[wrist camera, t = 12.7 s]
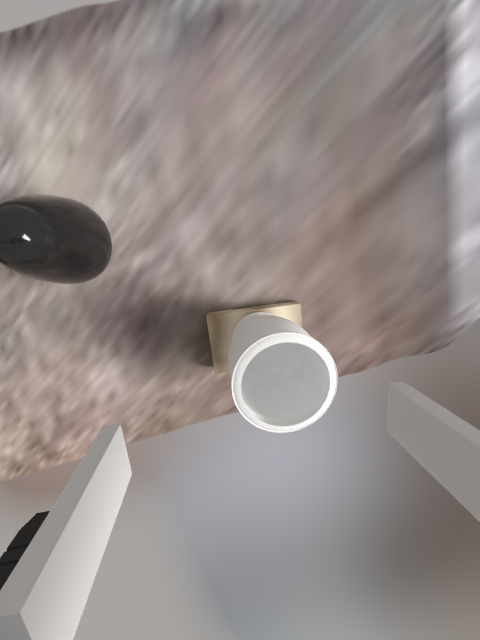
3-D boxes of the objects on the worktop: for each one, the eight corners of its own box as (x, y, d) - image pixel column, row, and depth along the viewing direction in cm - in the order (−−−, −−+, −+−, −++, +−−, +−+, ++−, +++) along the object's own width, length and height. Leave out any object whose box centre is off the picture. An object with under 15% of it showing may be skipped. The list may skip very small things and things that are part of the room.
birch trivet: (214, 367, 42) (214, 373, 40) (206, 312, 40) (206, 316, 38) (299, 354, 43) (304, 360, 41) (295, 300, 41) (300, 303, 39)
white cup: (211, 329, 38) (209, 373, 24) (270, 290, 38) (305, 310, 23) (250, 383, 41) (269, 452, 26) (306, 347, 40) (357, 397, 26)
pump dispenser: (37, 202, 35) (-93, 161, 20) (118, 206, 36) (52, 170, 21) (47, 280, 37) (-63, 294, 22) (123, 281, 38) (67, 296, 23)
